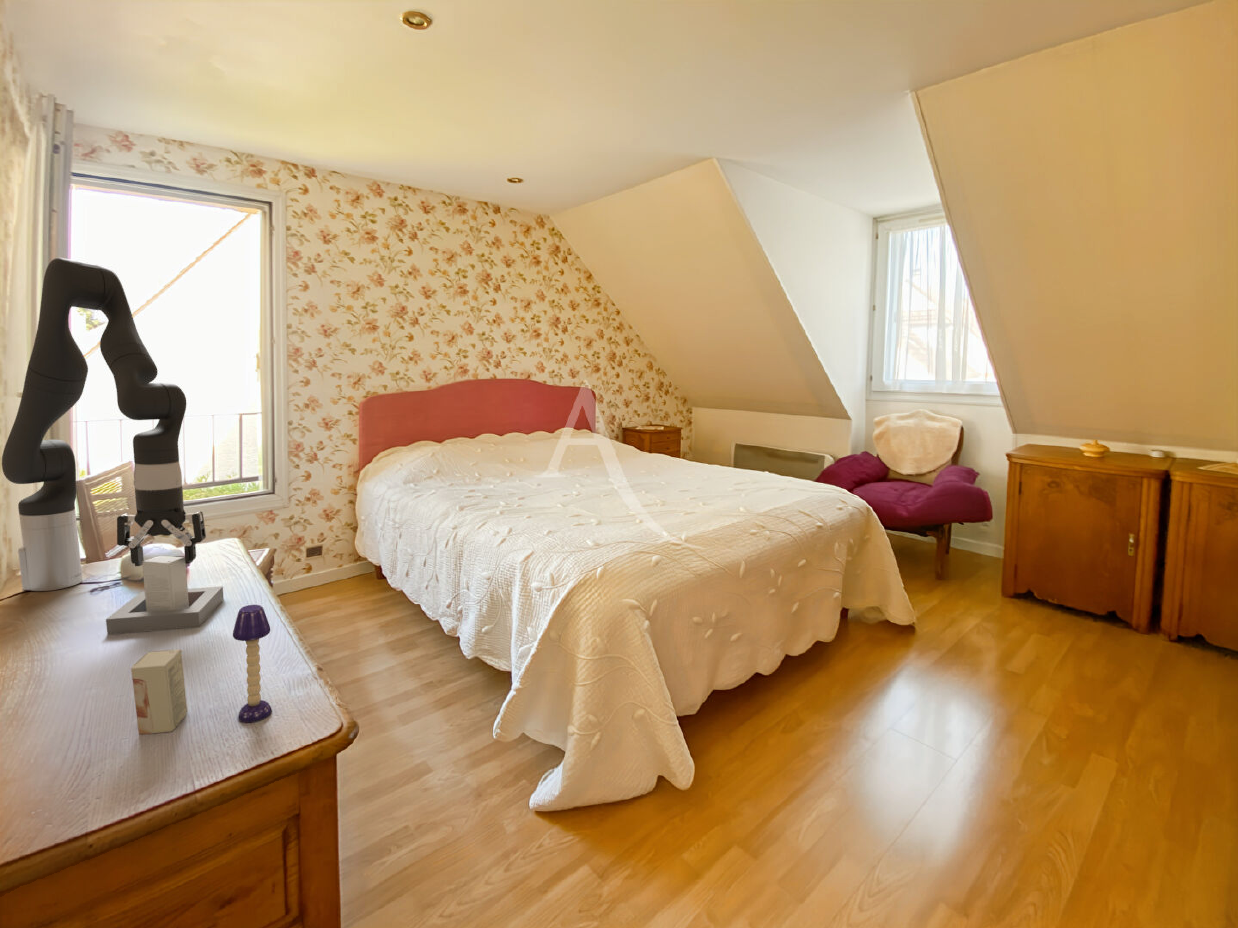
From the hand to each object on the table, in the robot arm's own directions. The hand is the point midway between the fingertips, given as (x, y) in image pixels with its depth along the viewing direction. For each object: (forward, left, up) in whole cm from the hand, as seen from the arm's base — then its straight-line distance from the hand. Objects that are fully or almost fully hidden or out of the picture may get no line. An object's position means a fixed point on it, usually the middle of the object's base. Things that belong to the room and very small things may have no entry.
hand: (164, 563), depth 122 cm
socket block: (0, 0, -11) cm, 11 cm away
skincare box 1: (0, 0, -11) cm, 11 cm away
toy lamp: (+26, -45, -11) cm, 53 cm away
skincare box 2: (+14, -44, -11) cm, 48 cm away
